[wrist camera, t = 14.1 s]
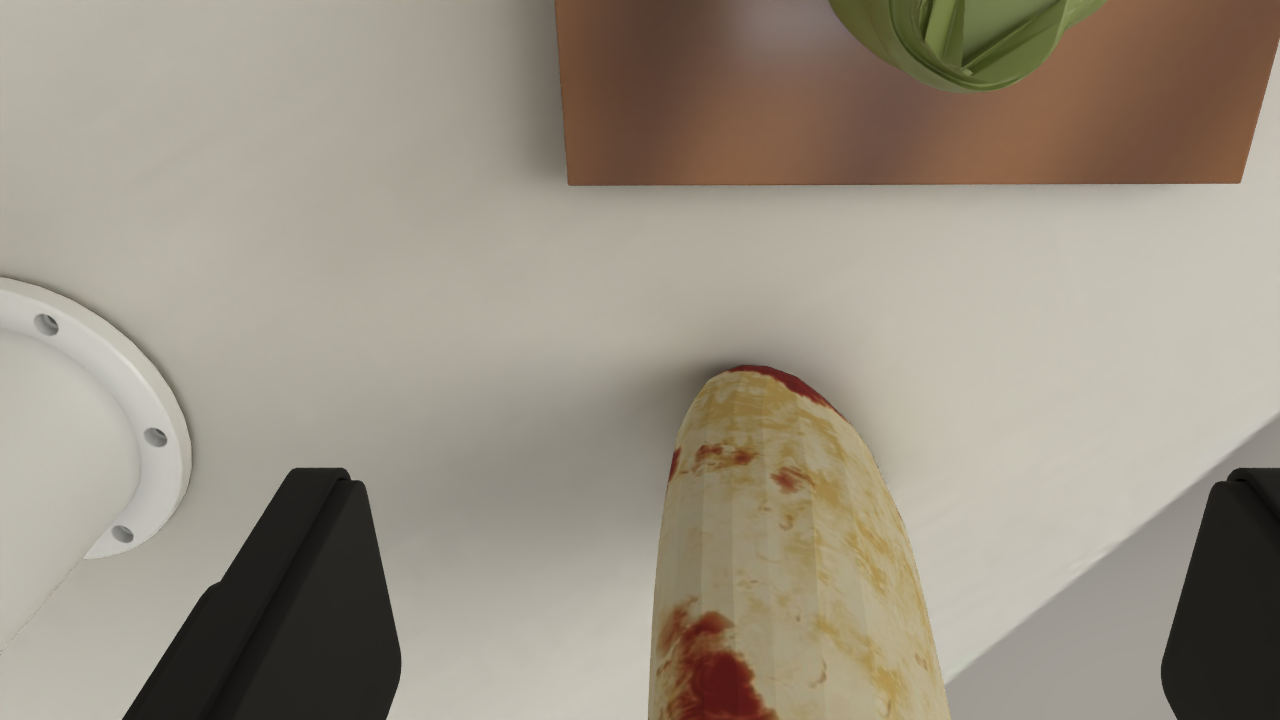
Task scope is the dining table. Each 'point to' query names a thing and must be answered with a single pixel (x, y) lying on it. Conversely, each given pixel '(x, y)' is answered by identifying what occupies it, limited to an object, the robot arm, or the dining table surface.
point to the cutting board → (904, 99)
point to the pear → (963, 37)
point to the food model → (784, 568)
